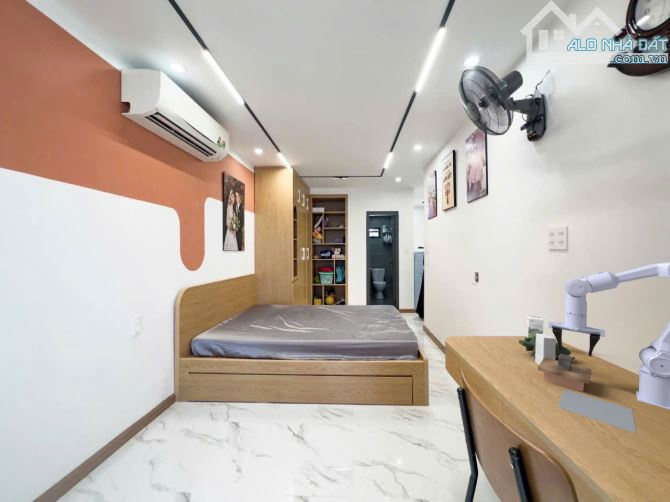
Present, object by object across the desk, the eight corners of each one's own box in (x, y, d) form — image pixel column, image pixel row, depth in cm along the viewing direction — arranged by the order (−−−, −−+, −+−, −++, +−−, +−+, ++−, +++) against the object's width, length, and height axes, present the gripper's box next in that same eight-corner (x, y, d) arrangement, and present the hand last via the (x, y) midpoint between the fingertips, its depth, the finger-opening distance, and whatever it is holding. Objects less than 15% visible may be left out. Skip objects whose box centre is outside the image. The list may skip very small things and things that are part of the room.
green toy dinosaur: (563, 379, 107) (584, 359, 105) (521, 345, 113) (541, 325, 111) (550, 371, 118) (570, 352, 116) (513, 340, 123) (531, 322, 122)
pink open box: (584, 382, 93) (585, 371, 93) (582, 392, 86) (583, 380, 86) (548, 372, 100) (548, 362, 100) (543, 381, 93) (544, 370, 93)
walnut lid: (591, 371, 93) (591, 357, 93) (589, 384, 84) (589, 368, 84) (544, 360, 102) (544, 347, 102) (537, 370, 93) (538, 355, 93)
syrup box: (541, 346, 129) (541, 316, 129) (542, 350, 124) (543, 319, 124) (526, 344, 132) (527, 314, 132) (527, 347, 127) (528, 317, 127)
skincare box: (555, 369, 103) (556, 338, 103) (542, 368, 104) (543, 337, 104) (546, 363, 109) (547, 334, 109) (534, 362, 110) (535, 333, 110)
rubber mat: (632, 410, 77) (632, 409, 77) (635, 434, 66) (635, 433, 66) (563, 390, 88) (563, 388, 88) (557, 408, 77) (557, 406, 77)
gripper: (547, 311, 96) (547, 349, 96) (605, 319, 86) (604, 361, 86) (550, 308, 101) (549, 344, 101) (604, 316, 91) (604, 356, 91)
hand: (574, 352), depth 94 cm, fingers open, 7 cm apart
